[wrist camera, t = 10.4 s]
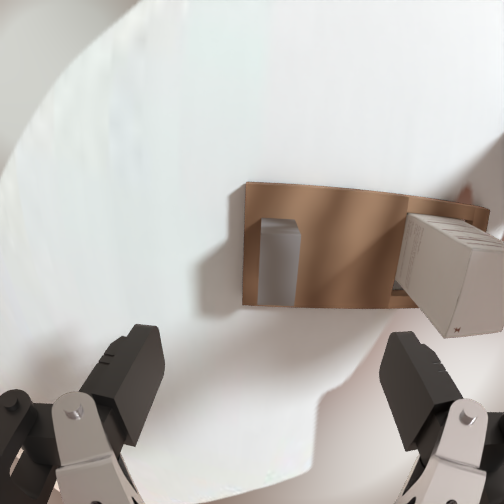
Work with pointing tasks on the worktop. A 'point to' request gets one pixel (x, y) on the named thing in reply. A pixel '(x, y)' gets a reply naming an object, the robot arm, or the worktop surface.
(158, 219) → the worktop surface
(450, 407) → the robot arm
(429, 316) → the supplement box
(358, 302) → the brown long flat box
